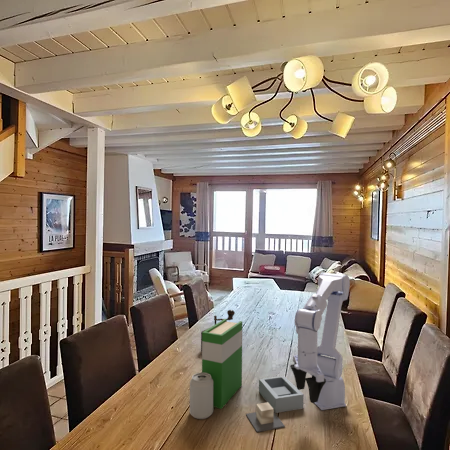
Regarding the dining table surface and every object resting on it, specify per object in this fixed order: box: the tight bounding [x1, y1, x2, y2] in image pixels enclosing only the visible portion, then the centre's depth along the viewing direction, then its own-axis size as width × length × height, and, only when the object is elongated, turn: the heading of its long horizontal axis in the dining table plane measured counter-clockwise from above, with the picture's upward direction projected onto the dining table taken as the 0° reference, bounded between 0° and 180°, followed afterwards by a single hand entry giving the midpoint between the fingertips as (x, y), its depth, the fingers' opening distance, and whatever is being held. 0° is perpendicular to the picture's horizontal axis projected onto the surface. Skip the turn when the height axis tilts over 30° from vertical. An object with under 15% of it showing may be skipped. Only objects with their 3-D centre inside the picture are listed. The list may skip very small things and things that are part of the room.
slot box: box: [258, 375, 305, 414], centre depth 114 cm, size 10×14×5 cm
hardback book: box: [201, 318, 243, 410], centre depth 117 cm, size 18×7×24 cm, turn 155°
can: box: [189, 371, 214, 420], centre depth 105 cm, size 8×8×12 cm
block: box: [255, 401, 274, 424], centre depth 101 cm, size 4×4×4 cm
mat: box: [245, 411, 286, 433], centre depth 101 cm, size 9×9×1 cm
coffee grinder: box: [200, 309, 235, 352], centre depth 161 cm, size 16×11×18 cm
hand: (307, 395), depth 99 cm, fingers open, 7 cm apart
